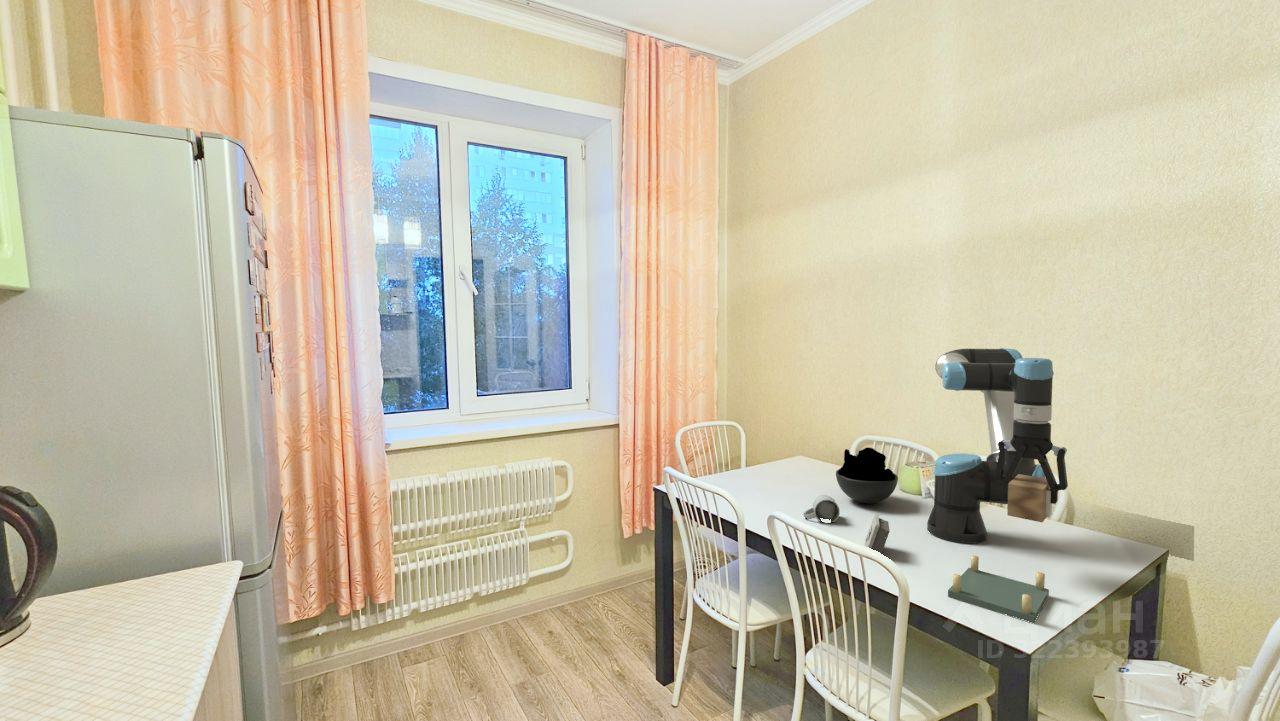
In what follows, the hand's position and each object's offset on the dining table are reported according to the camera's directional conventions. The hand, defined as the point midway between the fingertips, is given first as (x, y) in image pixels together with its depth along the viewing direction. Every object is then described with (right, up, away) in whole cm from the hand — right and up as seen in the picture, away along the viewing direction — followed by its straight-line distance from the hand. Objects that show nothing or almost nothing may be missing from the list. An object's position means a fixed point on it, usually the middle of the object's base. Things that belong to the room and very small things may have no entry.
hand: (1029, 511), depth 133 cm
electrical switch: (-32, -15, +14) cm, 38 cm away
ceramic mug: (-39, -14, +38) cm, 56 cm away
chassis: (-16, -16, -12) cm, 25 cm away
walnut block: (0, 0, 0) cm, 0 cm away
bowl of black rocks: (-18, -12, +54) cm, 58 cm away
